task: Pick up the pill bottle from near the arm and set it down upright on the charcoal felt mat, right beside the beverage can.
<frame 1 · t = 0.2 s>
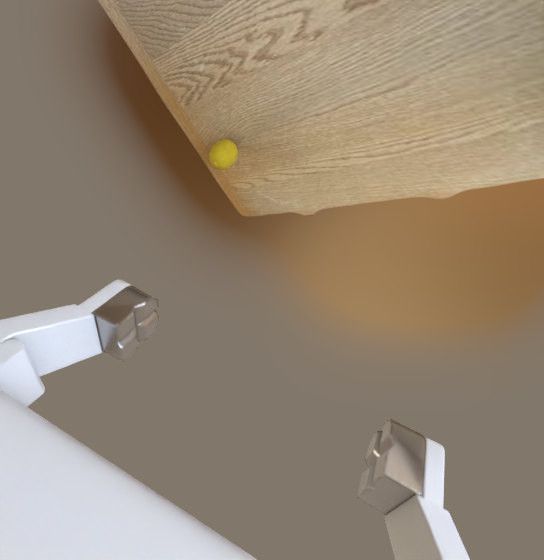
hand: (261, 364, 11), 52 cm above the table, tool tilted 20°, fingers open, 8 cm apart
lemon: (234, 144, 74), on the table
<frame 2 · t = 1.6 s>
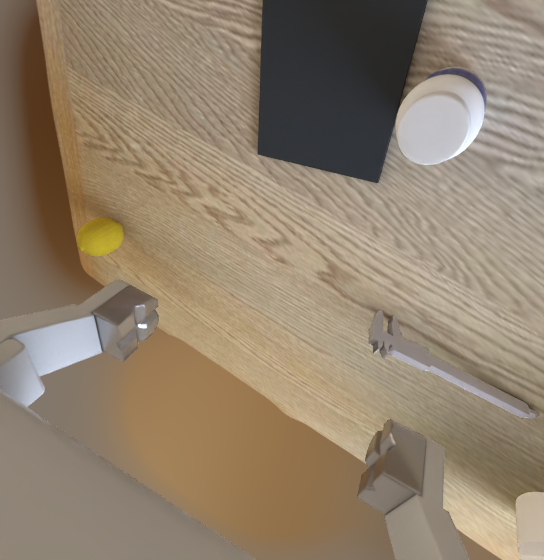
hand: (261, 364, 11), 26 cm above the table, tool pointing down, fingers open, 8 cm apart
felt mat: (332, 46, 27), on the table
lemon: (122, 225, 55), on the table
pill bottle: (446, 105, 26), on the table
caliper: (454, 358, 38), on the table
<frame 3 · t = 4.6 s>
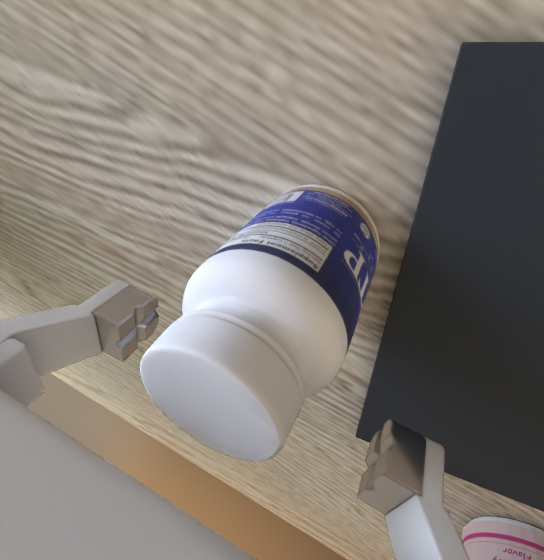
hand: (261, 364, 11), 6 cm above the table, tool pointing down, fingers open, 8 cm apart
beverage can: (514, 537, 21), on the table
pill bottle: (320, 238, 15), on the table
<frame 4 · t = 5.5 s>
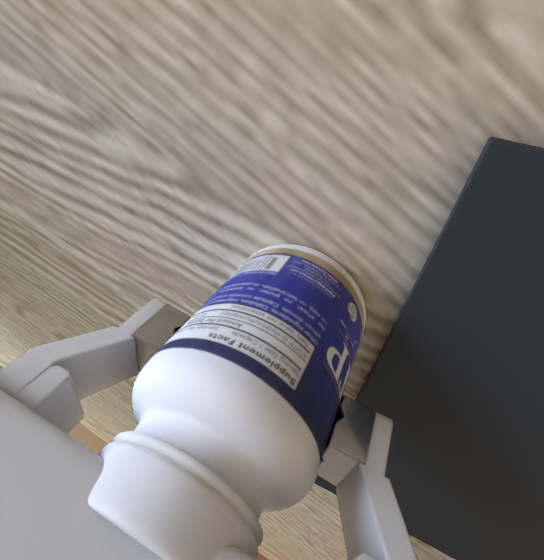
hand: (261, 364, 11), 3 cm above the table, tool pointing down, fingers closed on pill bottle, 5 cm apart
felt mat: (534, 457, 12), on the table
pill bottle: (302, 297, 13), on the table, touching gripper
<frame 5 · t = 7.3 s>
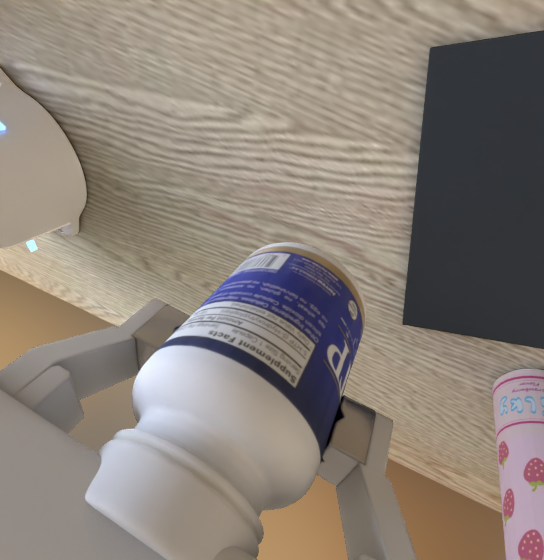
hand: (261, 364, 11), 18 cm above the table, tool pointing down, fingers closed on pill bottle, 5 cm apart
felt mat: (523, 220, 21), on the table
beverage can: (532, 389, 28), on the table
pill bottle: (302, 295, 13), point 14 cm above the table, touching gripper
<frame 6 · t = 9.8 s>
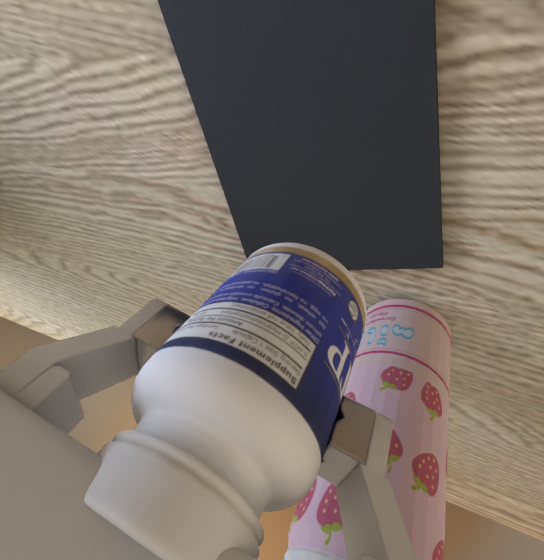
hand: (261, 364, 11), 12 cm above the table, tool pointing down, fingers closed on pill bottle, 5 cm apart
felt mat: (301, 105, 18), on the table
beverage can: (404, 327, 23), on the table
pill bottle: (302, 295, 13), point 9 cm above the table, touching gripper
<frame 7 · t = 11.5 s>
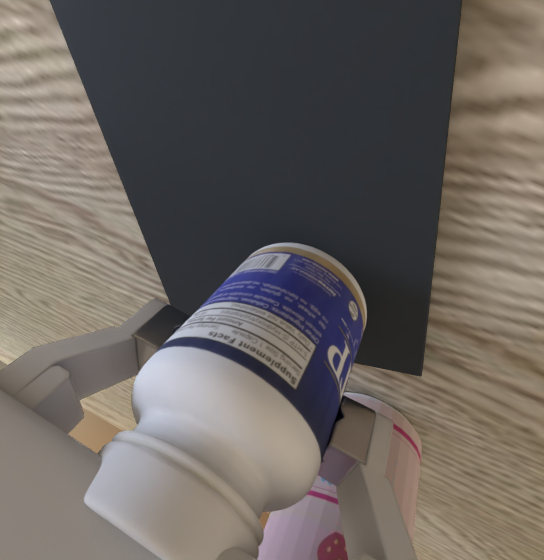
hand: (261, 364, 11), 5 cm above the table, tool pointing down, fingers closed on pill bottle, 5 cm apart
felt mat: (242, 131, 12), on the table
beverage can: (365, 422, 18), on the table
pill bottle: (302, 295, 13), point 1 cm above the table, touching gripper
when the fingers open (4 cm above the table, at t = 12.2 s): pill bottle stays where it is, resting on felt mat.
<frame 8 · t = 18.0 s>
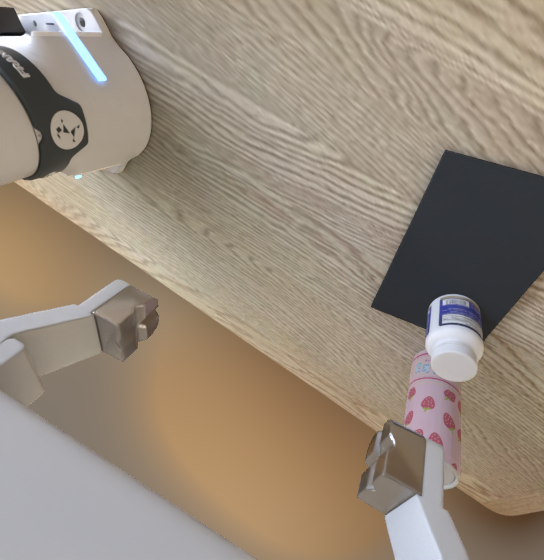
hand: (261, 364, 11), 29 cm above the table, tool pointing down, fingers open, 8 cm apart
felt mat: (462, 261, 35), on the table
beverage can: (435, 362, 44), on the table
pill bottle: (453, 310, 38), resting on felt mat
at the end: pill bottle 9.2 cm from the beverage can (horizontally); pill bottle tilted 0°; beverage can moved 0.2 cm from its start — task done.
